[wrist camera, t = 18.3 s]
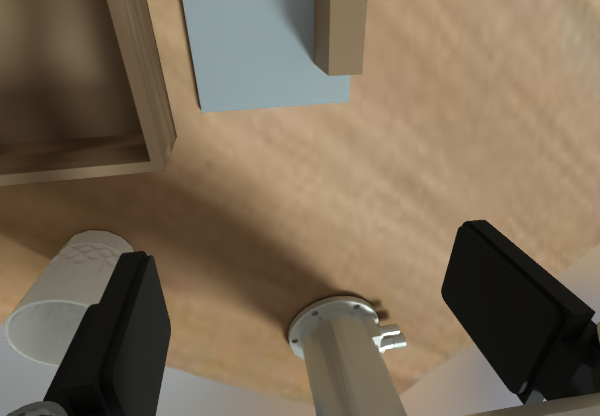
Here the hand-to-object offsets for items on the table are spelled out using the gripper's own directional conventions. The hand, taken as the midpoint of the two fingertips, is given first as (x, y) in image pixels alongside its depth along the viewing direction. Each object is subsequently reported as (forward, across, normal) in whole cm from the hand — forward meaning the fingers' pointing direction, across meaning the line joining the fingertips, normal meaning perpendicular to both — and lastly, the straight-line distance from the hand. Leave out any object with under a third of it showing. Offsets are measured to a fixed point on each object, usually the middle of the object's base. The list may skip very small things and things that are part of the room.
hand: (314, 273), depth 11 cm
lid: (+24, -1, -5) cm, 24 cm away
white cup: (+24, +17, +15) cm, 33 cm away
